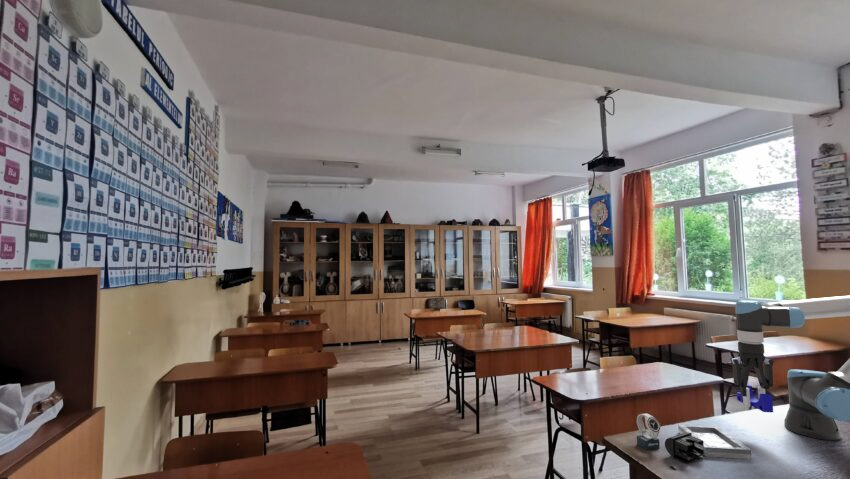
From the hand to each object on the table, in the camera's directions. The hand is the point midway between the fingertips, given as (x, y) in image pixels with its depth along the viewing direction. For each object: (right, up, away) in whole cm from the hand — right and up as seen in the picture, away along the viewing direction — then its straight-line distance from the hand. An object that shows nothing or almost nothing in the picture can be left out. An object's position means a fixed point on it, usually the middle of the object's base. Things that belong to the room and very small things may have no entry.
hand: (754, 405), depth 143 cm
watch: (-43, -12, -6) cm, 46 cm away
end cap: (-35, -12, -14) cm, 40 cm away
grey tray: (-20, -12, -6) cm, 24 cm away
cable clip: (0, -1, 0) cm, 1 cm away
